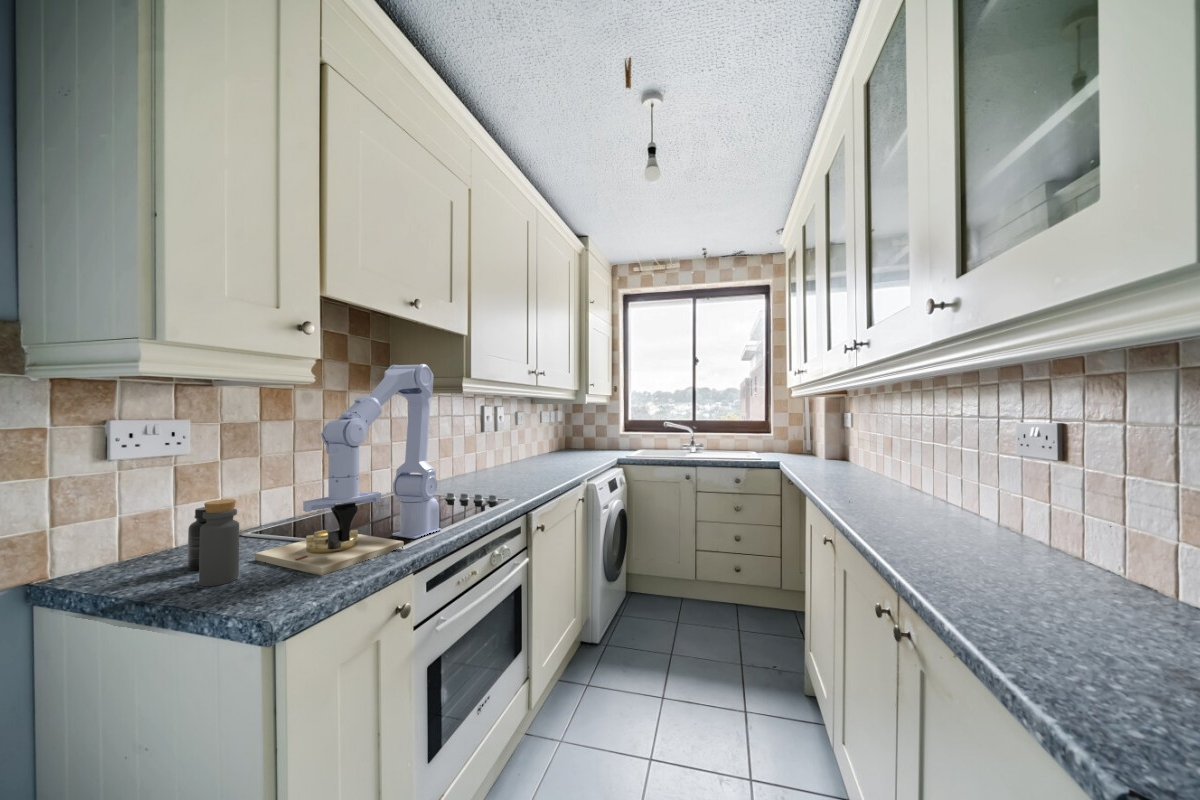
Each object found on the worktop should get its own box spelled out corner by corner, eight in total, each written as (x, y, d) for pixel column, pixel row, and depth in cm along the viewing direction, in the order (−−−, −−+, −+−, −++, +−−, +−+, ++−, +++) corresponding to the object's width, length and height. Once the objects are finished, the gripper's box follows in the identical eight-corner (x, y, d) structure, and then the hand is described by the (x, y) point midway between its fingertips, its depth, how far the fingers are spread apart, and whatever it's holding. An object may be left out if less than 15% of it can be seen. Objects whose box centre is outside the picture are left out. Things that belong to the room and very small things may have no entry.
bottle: (205, 578, 90) (206, 500, 90) (242, 573, 93) (243, 497, 93) (193, 588, 85) (195, 505, 85) (233, 583, 87) (234, 503, 88)
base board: (340, 536, 119) (340, 530, 119) (403, 547, 109) (403, 540, 110) (254, 560, 101) (255, 552, 101) (321, 575, 91) (321, 566, 91)
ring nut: (355, 538, 112) (355, 515, 112) (361, 554, 99) (361, 528, 99) (306, 544, 107) (306, 520, 107) (306, 563, 94) (306, 535, 94)
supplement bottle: (235, 563, 98) (236, 506, 99) (194, 573, 93) (195, 512, 93) (222, 558, 102) (223, 503, 102) (182, 566, 96) (183, 508, 97)
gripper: (372, 470, 107) (372, 530, 106) (299, 477, 96) (298, 543, 96) (385, 473, 102) (384, 536, 101) (308, 481, 91) (308, 551, 91)
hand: (343, 540), depth 98 cm, fingers closed, pressing on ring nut
